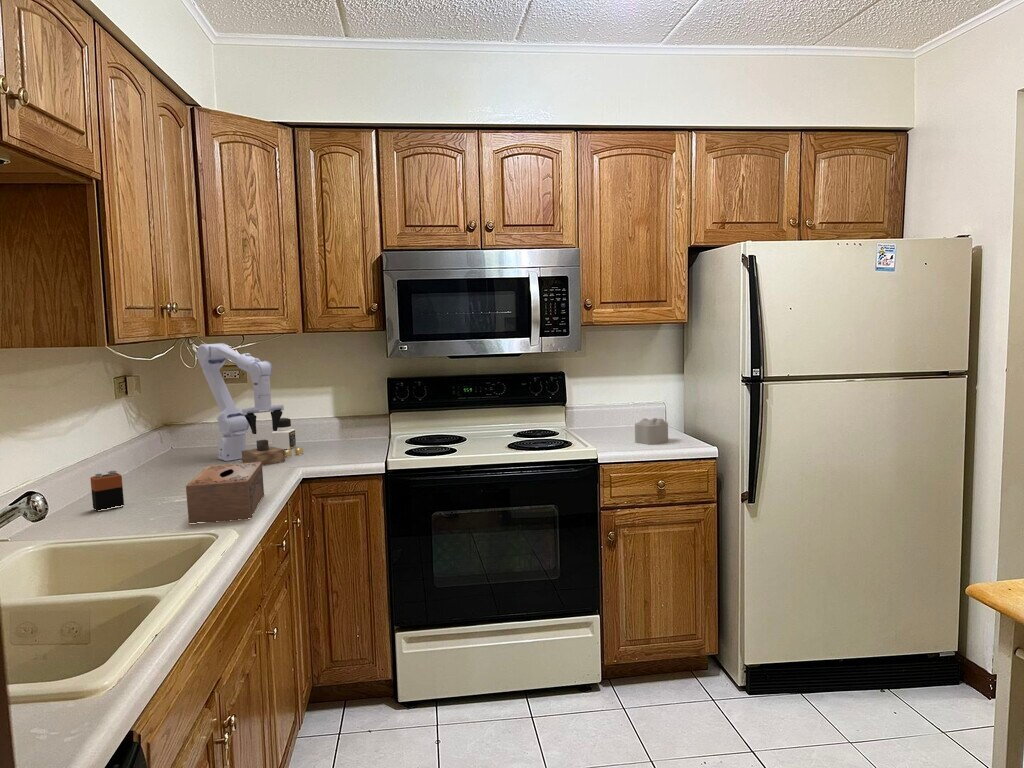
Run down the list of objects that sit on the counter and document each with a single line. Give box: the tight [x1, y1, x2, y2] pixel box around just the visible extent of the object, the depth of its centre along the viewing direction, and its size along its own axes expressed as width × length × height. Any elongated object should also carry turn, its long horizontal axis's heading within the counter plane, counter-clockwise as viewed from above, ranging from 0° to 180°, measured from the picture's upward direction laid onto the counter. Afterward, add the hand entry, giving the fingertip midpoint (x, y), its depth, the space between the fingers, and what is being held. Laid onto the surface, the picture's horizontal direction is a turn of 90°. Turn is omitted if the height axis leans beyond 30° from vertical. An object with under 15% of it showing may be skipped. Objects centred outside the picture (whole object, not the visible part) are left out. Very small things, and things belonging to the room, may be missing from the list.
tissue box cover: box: [185, 462, 265, 524], centre depth 186 cm, size 26×14×10 cm, turn 12°
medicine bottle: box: [271, 417, 297, 450], centre depth 278 cm, size 7×7×12 cm
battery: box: [89, 470, 125, 511], centre depth 191 cm, size 4×7×10 cm, turn 133°
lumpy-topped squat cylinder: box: [634, 417, 669, 446], centre depth 265 cm, size 10×13×9 cm
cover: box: [241, 439, 286, 466], centre depth 250 cm, size 11×11×8 cm
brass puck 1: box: [284, 449, 293, 458], centre depth 260 cm, size 3×3×2 cm
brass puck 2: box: [293, 447, 304, 456], centre depth 263 cm, size 3×3×2 cm
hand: (264, 432), depth 252 cm, fingers open, 7 cm apart
